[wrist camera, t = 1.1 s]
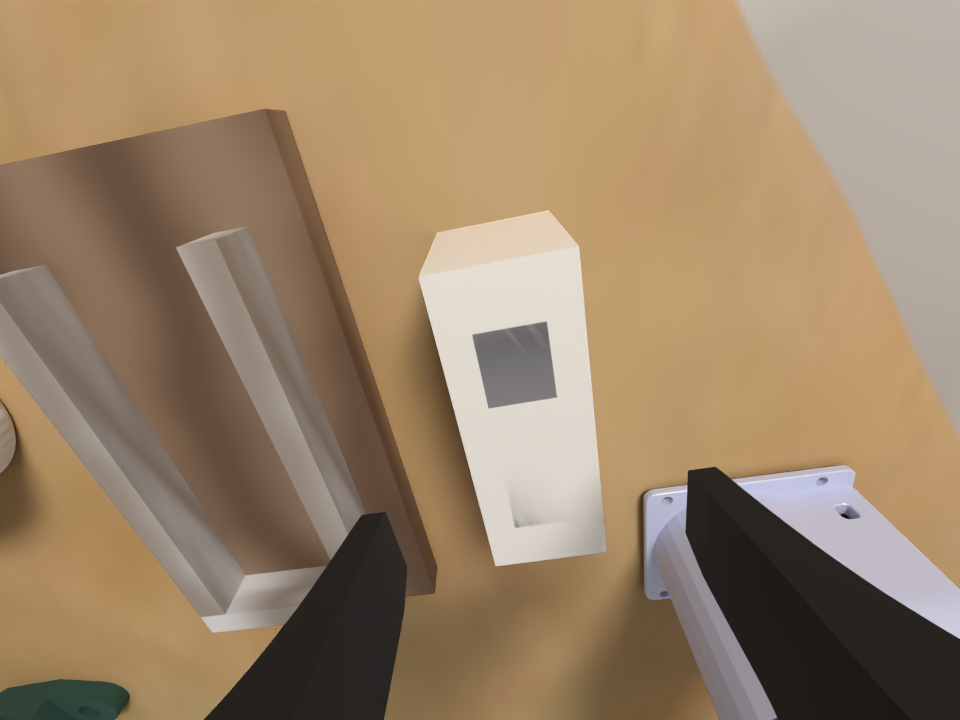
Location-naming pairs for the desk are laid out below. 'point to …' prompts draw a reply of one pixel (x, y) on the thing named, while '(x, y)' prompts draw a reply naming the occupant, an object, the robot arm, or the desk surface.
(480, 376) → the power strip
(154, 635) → the desk surface
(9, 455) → the ramekin
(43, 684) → the mount
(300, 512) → the cradle
